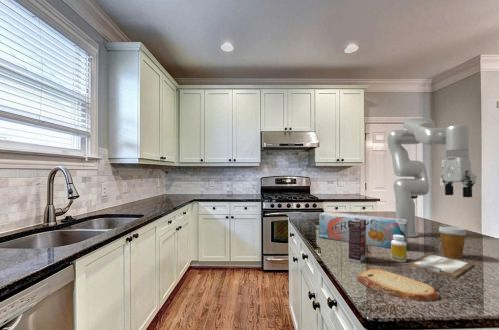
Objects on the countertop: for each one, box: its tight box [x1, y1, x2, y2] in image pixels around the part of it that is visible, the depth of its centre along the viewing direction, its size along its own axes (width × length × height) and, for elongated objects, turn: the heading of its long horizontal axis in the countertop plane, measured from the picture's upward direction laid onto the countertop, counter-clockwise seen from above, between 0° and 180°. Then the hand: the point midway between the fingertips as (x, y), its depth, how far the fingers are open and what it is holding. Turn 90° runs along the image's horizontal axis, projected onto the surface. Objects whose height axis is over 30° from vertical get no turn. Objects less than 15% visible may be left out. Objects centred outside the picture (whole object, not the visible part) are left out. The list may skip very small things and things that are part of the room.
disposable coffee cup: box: [438, 225, 467, 260], centre depth 110 cm, size 10×10×12 cm
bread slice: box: [356, 267, 439, 302], centre depth 81 cm, size 18×18×4 cm
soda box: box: [318, 211, 409, 250], centre depth 134 cm, size 41×14×13 cm, turn 56°
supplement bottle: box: [390, 235, 408, 263], centre depth 105 cm, size 5×5×10 cm
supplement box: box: [348, 218, 367, 264], centre depth 106 cm, size 9×5×16 cm, turn 142°
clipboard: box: [407, 253, 475, 279], centre depth 99 cm, size 15×20×2 cm
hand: (457, 196), depth 108 cm, fingers open, 9 cm apart
